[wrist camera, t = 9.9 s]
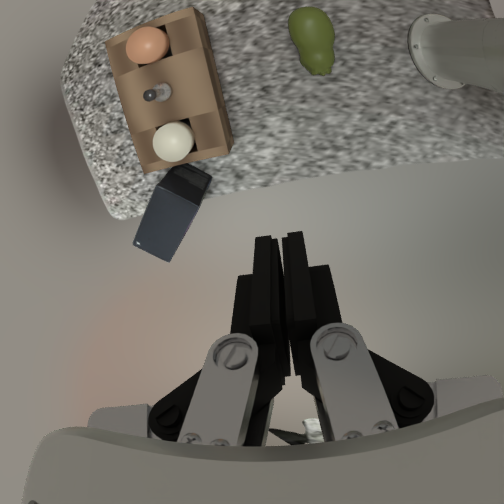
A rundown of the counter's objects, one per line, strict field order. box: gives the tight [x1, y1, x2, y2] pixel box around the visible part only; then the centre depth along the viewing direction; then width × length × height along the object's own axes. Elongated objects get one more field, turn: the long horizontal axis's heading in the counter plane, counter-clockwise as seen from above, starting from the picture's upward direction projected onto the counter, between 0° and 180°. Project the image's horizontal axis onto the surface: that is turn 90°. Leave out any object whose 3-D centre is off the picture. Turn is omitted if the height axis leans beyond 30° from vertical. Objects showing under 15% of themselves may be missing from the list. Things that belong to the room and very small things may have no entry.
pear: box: [288, 7, 335, 76], centre depth 28 cm, size 6×5×10 cm
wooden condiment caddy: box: [105, 7, 234, 174], centre depth 31 cm, size 12×20×6 cm, turn 11°
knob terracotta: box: [126, 27, 173, 64], centre depth 27 cm, size 5×5×8 cm
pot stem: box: [143, 83, 172, 102], centre depth 27 cm, size 2×2×5 cm
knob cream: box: [153, 118, 195, 162], centre depth 34 cm, size 5×5×8 cm
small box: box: [133, 163, 212, 262], centre depth 40 cm, size 11×6×10 cm, turn 149°
